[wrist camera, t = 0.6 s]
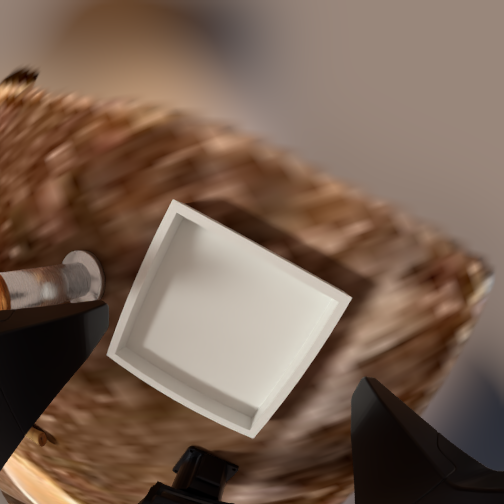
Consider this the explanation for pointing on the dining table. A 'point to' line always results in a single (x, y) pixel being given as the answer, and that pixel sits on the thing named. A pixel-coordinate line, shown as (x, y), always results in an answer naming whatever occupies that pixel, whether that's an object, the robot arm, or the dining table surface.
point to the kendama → (37, 436)
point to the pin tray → (222, 321)
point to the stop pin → (54, 283)
